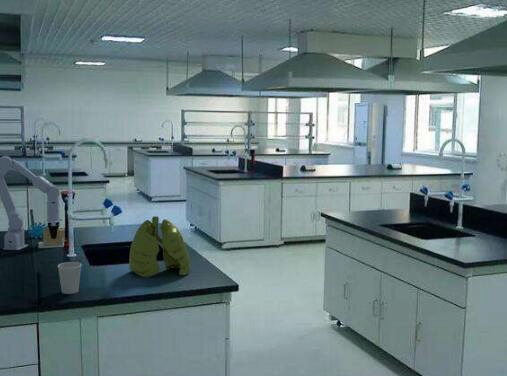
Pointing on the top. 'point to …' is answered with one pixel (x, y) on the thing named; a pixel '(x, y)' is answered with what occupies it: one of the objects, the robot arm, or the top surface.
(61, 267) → the dixie cup
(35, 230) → the blue spiky piece
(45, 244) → the tray
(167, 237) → the lungs
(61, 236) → the tan rectangular block
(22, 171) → the robot arm
